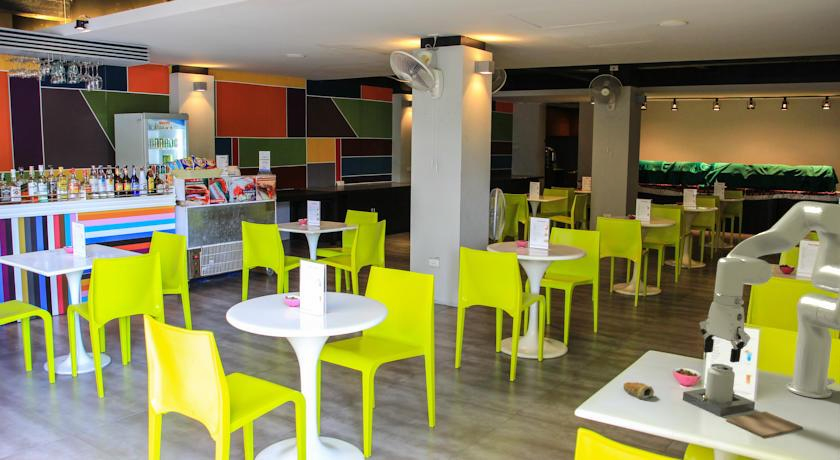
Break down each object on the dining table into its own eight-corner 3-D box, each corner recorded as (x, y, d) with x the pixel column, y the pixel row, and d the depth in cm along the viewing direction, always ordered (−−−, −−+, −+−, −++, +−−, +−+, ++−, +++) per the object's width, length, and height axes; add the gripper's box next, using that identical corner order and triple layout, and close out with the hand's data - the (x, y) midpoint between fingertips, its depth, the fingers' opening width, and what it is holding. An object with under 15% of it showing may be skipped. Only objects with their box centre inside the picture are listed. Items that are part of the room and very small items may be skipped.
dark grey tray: (715, 394, 224) (716, 383, 224) (754, 410, 212) (755, 398, 211) (682, 399, 218) (683, 388, 218) (720, 416, 206) (721, 404, 205)
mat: (765, 413, 209) (765, 411, 209) (802, 429, 199) (803, 427, 199) (726, 421, 202) (726, 419, 202) (762, 437, 192) (763, 435, 192)
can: (734, 411, 210) (737, 371, 209) (706, 408, 212) (710, 368, 210) (728, 402, 218) (732, 363, 216) (702, 399, 219) (705, 361, 218)
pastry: (617, 390, 225) (618, 378, 224) (633, 387, 228) (634, 376, 228) (640, 400, 217) (641, 388, 216) (656, 397, 220) (657, 385, 220)
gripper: (761, 306, 205) (754, 364, 207) (713, 293, 220) (707, 347, 222) (743, 307, 201) (736, 366, 203) (695, 294, 217) (689, 349, 219)
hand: (721, 356), depth 213 cm, fingers open, 9 cm apart
